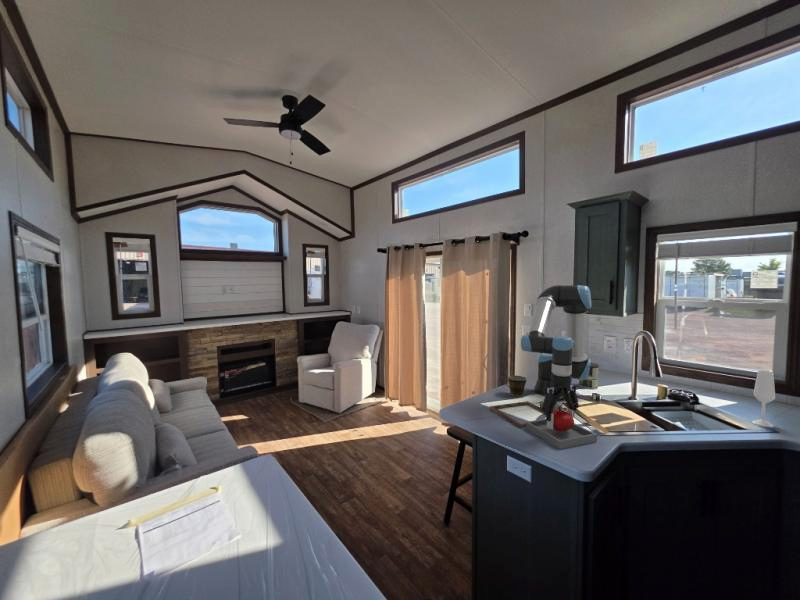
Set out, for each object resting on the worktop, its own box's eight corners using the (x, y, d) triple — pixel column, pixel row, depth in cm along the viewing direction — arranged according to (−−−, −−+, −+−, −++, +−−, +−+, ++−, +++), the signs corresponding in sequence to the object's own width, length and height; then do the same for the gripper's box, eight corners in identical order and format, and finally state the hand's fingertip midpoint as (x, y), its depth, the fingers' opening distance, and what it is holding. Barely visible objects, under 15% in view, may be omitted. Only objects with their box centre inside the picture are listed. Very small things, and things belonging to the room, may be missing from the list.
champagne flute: (775, 428, 145) (778, 374, 144) (752, 424, 149) (755, 371, 148) (772, 423, 150) (775, 371, 149) (750, 419, 154) (753, 369, 153)
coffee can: (583, 388, 199) (583, 365, 198) (576, 383, 209) (576, 361, 208) (601, 389, 197) (602, 366, 197) (593, 384, 208) (594, 362, 207)
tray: (559, 422, 150) (560, 416, 150) (596, 441, 132) (597, 434, 132) (525, 428, 144) (525, 421, 144) (559, 449, 126) (559, 441, 126)
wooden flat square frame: (527, 404, 173) (527, 401, 173) (561, 421, 151) (561, 418, 151) (489, 409, 166) (490, 406, 166) (520, 428, 144) (520, 424, 144)
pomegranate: (578, 433, 134) (580, 410, 133) (556, 434, 132) (557, 412, 131) (562, 422, 143) (563, 401, 143) (541, 423, 142) (543, 402, 141)
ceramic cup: (518, 391, 193) (518, 374, 193) (530, 397, 184) (530, 379, 184) (499, 393, 189) (499, 376, 189) (510, 399, 180) (510, 381, 179)
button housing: (550, 407, 168) (551, 400, 168) (561, 412, 162) (561, 404, 161) (539, 409, 166) (540, 401, 166) (550, 414, 159) (550, 406, 159)
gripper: (546, 378, 129) (545, 434, 130) (589, 374, 137) (588, 426, 138) (533, 373, 136) (531, 426, 138) (575, 369, 144) (573, 419, 145)
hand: (560, 426), depth 138 cm, fingers closed on pomegranate, 10 cm apart
